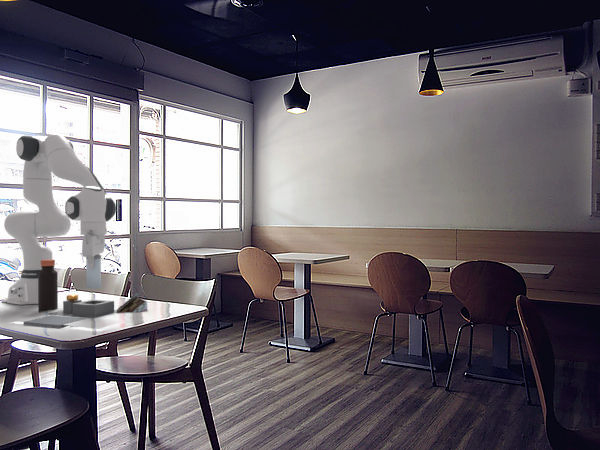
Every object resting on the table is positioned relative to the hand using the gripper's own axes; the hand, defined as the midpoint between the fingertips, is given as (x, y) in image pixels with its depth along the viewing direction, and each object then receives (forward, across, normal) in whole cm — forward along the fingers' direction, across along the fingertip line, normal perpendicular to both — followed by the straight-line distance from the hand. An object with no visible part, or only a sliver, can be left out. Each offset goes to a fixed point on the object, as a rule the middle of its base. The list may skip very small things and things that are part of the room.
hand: (93, 267), depth 191 cm
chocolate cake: (+19, +2, -14) cm, 24 cm away
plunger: (+17, +5, +9) cm, 19 cm away
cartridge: (+8, 0, 0) cm, 8 cm away
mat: (+18, -12, +10) cm, 24 cm away
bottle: (+18, +12, +19) cm, 29 cm away
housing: (+18, +2, +3) cm, 19 cm away
